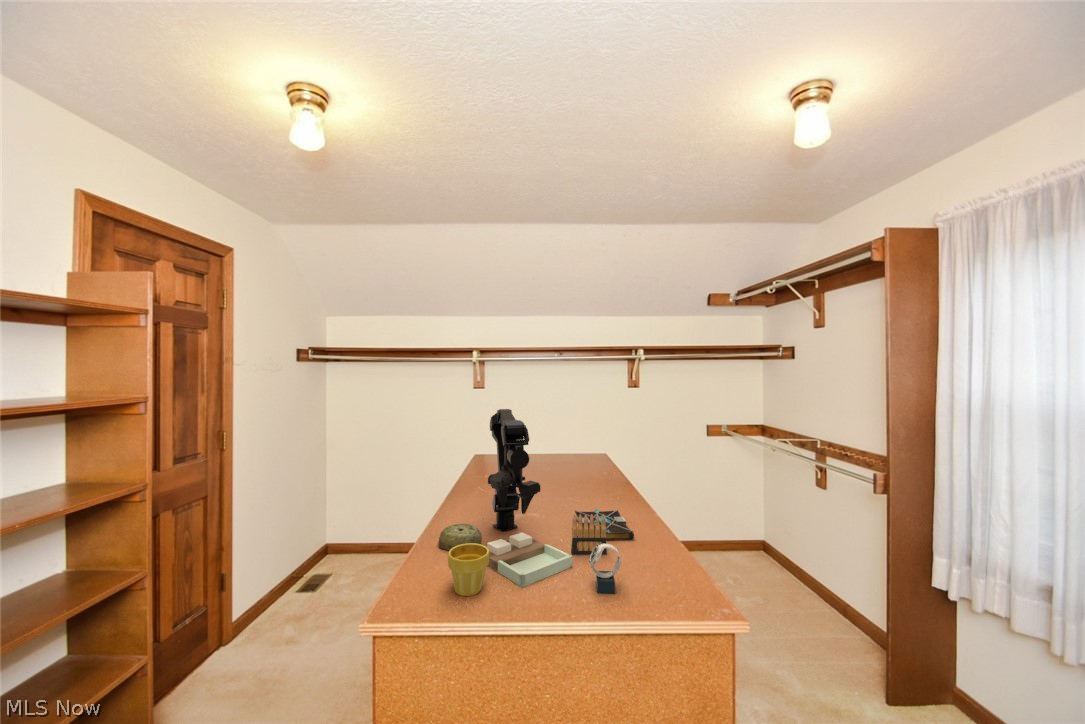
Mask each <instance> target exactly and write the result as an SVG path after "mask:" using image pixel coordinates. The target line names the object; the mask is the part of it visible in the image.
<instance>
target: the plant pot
mask: <svg viewBox="0 0 1085 724" xmlns="http://www.w3.org/2000/svg"><path fill="white" fill-rule="evenodd" d="M447 564H448V568H449V570H450V571H451V576H452V582H453V586H454V592H455V593H456V594H457V595H459V596H461V597H462V596H463V597H471V596H475V595H477V594H478V593H480V592H481V591H482V588H483V582H484V578H485V573H486V568H487V567H489V566H488V564H489V549H488V548H487V546H485V545H484V544H481V543H480V544H476V543H468V544H461V545H458V546H455V547H453V548H452V549H451V550H450V551H449V550H448V553H447Z"/></svg>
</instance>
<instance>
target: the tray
mask: <svg viewBox="0 0 1085 724" xmlns="http://www.w3.org/2000/svg"><path fill="white" fill-rule="evenodd" d="M572 567H573V555H572V554H569V553H567V552H565V551H562V550H560V549H559V548H556V547H554V546H552V545H550V544H548V543H546V544H545V545H544V553H542V554H540V555H537V556H534V557H532V558H529V559H526V560H523V561H521V562H518V563H515V564H512V565H508V564H506V563H505V562H503V561H501V560H500V561H498V572H497V573H499V574H500V575H502V576H503V577H505V578H506V579H508V580H510V581H511V582H513V583H514V584H516V585H517V586H519V587H520V588H524V587H527V586H529V585H531V584H534V583H536V582H538V581H541V580H543V579H546V578H548V577H551V576H553V575H556V574H557V573H561V572H563V571H565V570H567V569H570V568H572Z"/></svg>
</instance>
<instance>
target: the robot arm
mask: <svg viewBox="0 0 1085 724" xmlns="http://www.w3.org/2000/svg"><path fill="white" fill-rule="evenodd" d="M528 430H529V429H528V428H527V425H526V424H525V423H524V422H523V421H522V420H519V419H516V417H515V416H514V415H513V412H512V409H510V408H502V409H501V408H499V409H497V410H496V413H495V414H493V415H492V416H491V417H490V420H489V431H490V432H491V437H492V439H494V441H495V443H496V453H497V455H496V456H497V457H496V458H497V470H498V472H495V473H492V474H491V473H490V474H489V476H488V477H487V485H490V487H491V488H492V489H494V494H493V498H492V502H491V503H492V511H493V512H494V513H496V516H495V517H496V520H495V522H496V523H495V524H493V525H492V527H493V528H495V529H496V530H499V531H501V532H505V531H509V530H512V529H516V528H518V525H517V524H515V511H516V512H517V511H519V507H520V503H521V507H520V508H521V514H522V515H524V514H525V515H526V512H527V510H528V509H529V507H530V506H529V505H530V503H531V502H532V500H533V498H534V497H535V495H537V494H538V493H540V492H541V483H539V482H538V481H533V480H528V481H526V476H524V475H523V469H525V468H526V467H527V466H528V465H529V462H530V456H529V454H528V452H527V451H526V450H525V449H524V446H528V445H529V442H530V435H529V431H528ZM517 488H518V491H519V493H518V492H517Z"/></svg>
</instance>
